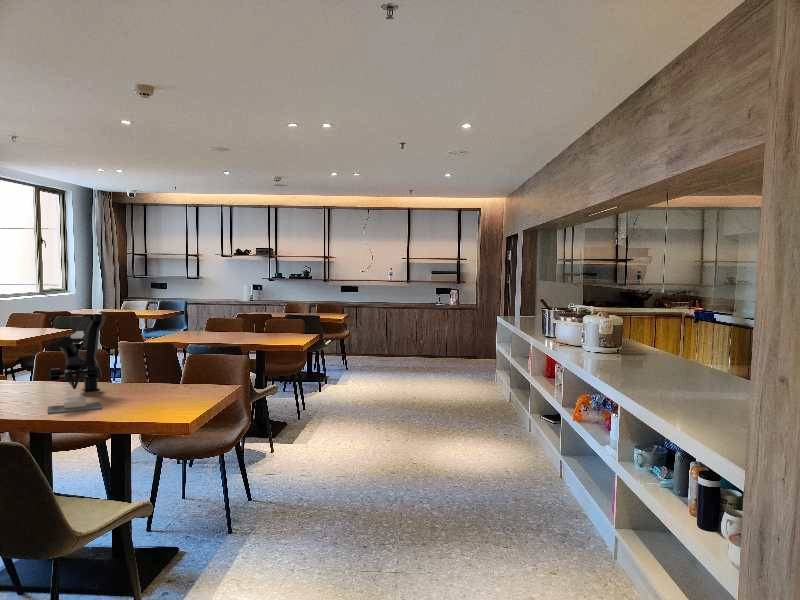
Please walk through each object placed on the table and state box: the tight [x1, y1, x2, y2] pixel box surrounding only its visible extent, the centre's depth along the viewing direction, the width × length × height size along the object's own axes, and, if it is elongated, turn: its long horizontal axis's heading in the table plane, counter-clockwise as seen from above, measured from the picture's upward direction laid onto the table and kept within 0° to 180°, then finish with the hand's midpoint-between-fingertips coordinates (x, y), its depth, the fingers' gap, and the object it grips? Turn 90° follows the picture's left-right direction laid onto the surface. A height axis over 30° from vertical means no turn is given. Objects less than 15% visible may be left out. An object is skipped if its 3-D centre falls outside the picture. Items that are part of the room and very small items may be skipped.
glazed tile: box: [63, 396, 87, 409], centre depth 251 cm, size 3×8×10 cm
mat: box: [47, 401, 103, 415], centre depth 248 cm, size 13×20×1 cm, turn 122°
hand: (74, 388), depth 255 cm, fingers closed
